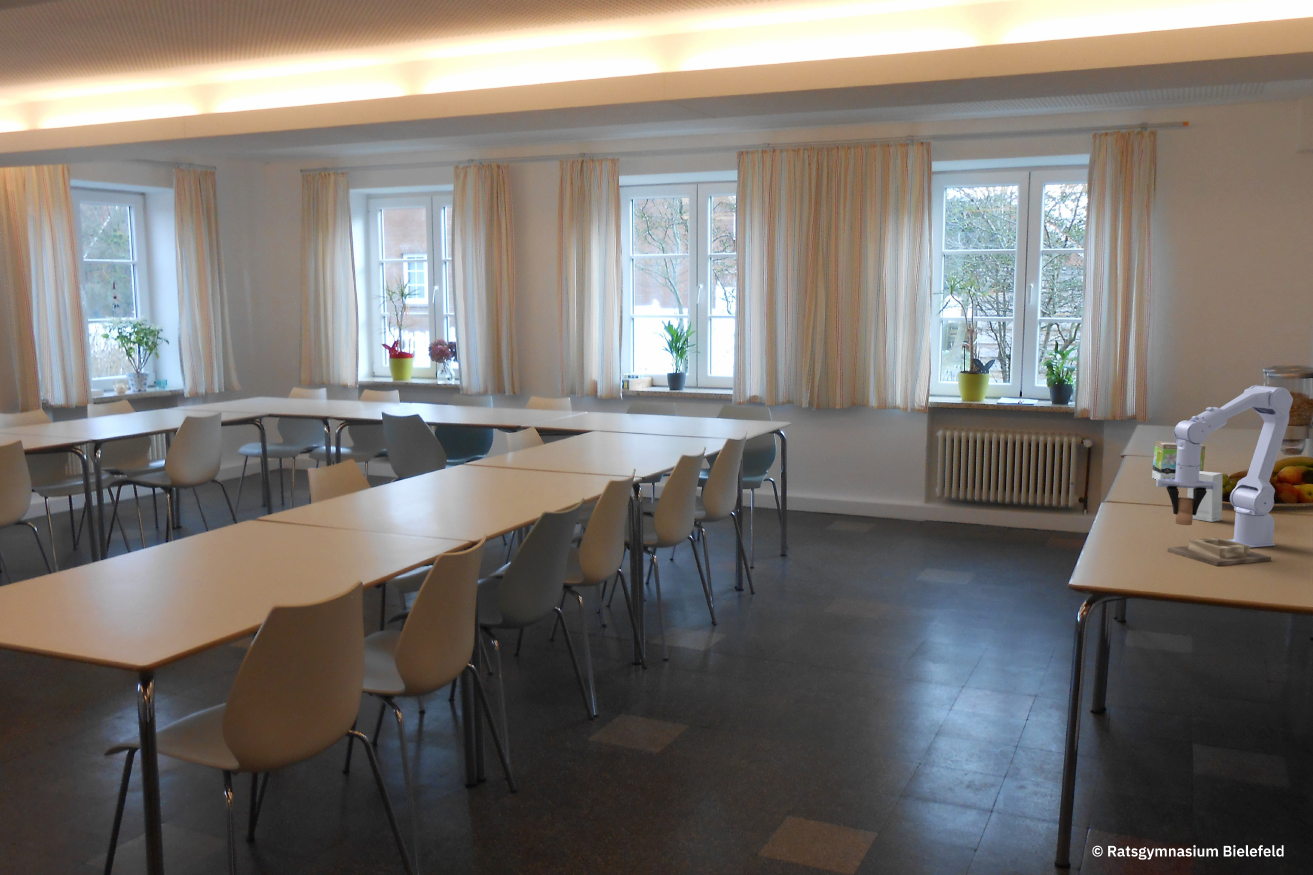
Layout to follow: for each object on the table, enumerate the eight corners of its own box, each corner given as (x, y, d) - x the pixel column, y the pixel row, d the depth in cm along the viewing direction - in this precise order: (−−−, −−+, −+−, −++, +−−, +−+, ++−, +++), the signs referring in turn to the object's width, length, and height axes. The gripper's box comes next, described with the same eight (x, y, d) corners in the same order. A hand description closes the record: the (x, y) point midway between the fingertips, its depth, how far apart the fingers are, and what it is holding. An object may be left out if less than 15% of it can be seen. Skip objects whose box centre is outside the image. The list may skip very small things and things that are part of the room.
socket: (1219, 546, 275) (1220, 534, 275) (1271, 560, 260) (1272, 547, 259) (1167, 551, 270) (1168, 538, 269) (1216, 565, 255) (1217, 552, 254)
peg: (1181, 521, 276) (1183, 496, 275) (1195, 524, 272) (1197, 499, 271) (1172, 522, 274) (1173, 497, 273) (1185, 525, 270) (1187, 500, 269)
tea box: (1160, 482, 375) (1162, 443, 373) (1151, 478, 385) (1154, 440, 383) (1203, 484, 373) (1205, 444, 371) (1193, 479, 383) (1196, 441, 381)
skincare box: (1221, 520, 309) (1225, 473, 307) (1211, 522, 306) (1215, 474, 304) (1194, 515, 316) (1198, 469, 314) (1184, 517, 313) (1187, 471, 311)
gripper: (1214, 464, 272) (1211, 512, 274) (1156, 461, 277) (1153, 509, 279) (1220, 468, 266) (1216, 518, 267) (1160, 465, 270) (1156, 514, 272)
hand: (1184, 514), depth 273 cm, fingers closed on peg, 4 cm apart
